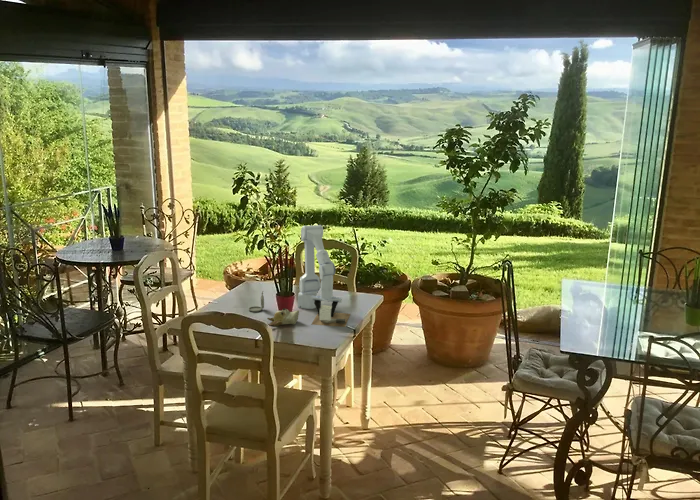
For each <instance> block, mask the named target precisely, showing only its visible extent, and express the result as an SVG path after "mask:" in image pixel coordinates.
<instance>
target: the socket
mask: <svg viewBox="0 0 700 500" xmlns="http://www.w3.org/2000/svg"><path fill="white" fill-rule="evenodd" d="M331 319H332V305H326V304H325V305H324V304H321V307H320V315H319V320H328V321H331Z"/></svg>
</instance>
